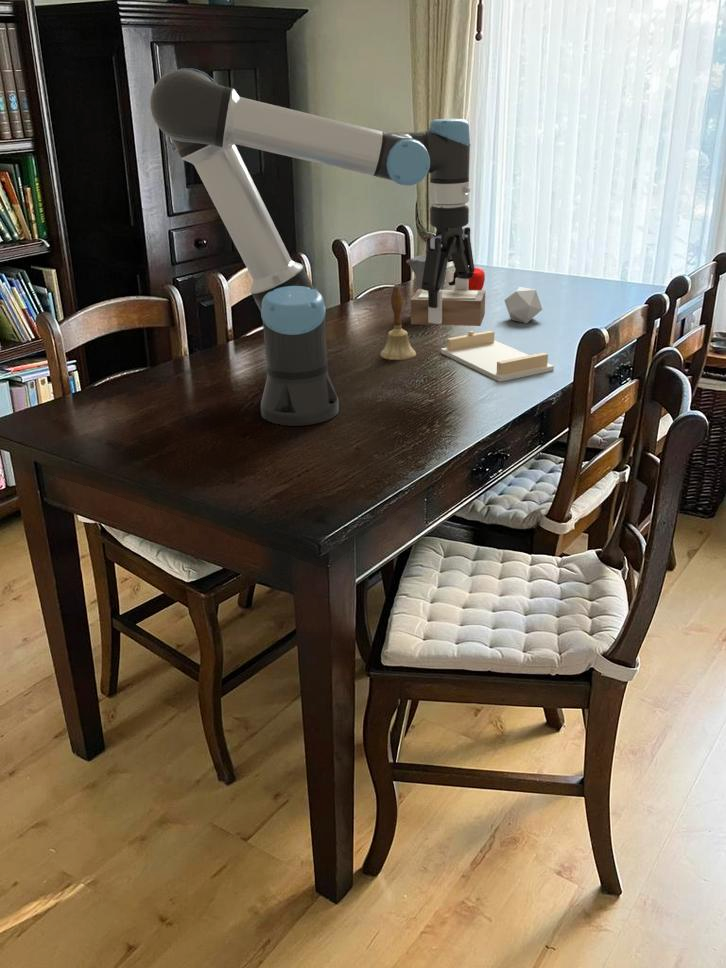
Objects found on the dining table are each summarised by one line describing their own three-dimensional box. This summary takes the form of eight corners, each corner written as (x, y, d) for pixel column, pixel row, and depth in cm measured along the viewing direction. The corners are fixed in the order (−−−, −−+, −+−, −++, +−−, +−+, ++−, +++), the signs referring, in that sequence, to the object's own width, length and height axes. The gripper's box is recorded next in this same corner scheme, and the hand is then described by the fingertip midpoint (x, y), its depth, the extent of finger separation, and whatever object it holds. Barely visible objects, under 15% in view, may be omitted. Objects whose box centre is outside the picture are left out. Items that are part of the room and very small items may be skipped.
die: (548, 322, 230) (541, 286, 232) (536, 313, 222) (530, 275, 224) (516, 332, 234) (510, 296, 236) (504, 323, 226) (498, 286, 228)
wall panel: (499, 381, 188) (499, 361, 186) (440, 352, 208) (440, 334, 206) (553, 370, 193) (554, 351, 192) (491, 343, 213) (492, 325, 211)
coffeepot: (412, 321, 233) (411, 251, 225) (402, 313, 241) (401, 244, 233) (468, 316, 236) (469, 246, 228) (457, 307, 244) (457, 240, 236)
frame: (480, 325, 179) (481, 300, 176) (410, 324, 182) (410, 298, 179) (484, 314, 187) (485, 289, 184) (418, 312, 189) (418, 288, 187)
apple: (453, 292, 260) (453, 265, 256) (484, 292, 259) (484, 265, 255) (453, 300, 252) (453, 272, 248) (484, 300, 251) (485, 272, 247)
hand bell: (413, 360, 203) (412, 290, 196) (377, 359, 205) (375, 290, 198) (418, 350, 210) (418, 282, 204) (383, 349, 212) (382, 281, 205)
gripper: (437, 214, 164) (437, 332, 173) (493, 197, 181) (490, 305, 191) (402, 212, 168) (403, 327, 177) (459, 195, 185) (458, 301, 194)
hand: (448, 316), depth 184 cm, fingers closed on frame, 11 cm apart
